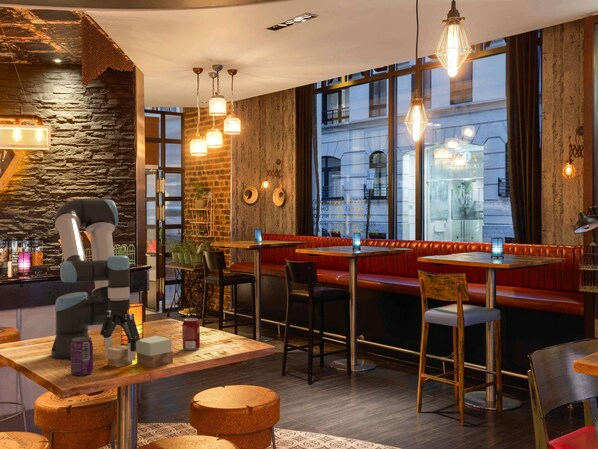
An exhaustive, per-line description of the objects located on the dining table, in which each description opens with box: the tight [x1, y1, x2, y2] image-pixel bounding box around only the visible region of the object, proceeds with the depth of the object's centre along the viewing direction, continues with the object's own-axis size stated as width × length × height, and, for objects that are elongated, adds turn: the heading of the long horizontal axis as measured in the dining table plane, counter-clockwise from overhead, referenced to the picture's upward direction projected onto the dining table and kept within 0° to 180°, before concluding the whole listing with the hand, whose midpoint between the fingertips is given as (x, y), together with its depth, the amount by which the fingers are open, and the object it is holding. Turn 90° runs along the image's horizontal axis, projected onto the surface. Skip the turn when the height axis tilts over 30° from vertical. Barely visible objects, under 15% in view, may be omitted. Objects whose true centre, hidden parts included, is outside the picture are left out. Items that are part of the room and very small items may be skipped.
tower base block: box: [136, 350, 174, 369], centre depth 226 cm, size 9×9×4 cm
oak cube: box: [107, 345, 133, 368], centre depth 224 cm, size 6×6×6 cm
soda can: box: [181, 317, 201, 352], centre depth 247 cm, size 7×7×12 cm
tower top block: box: [135, 335, 172, 356], centre depth 225 cm, size 9×9×4 cm
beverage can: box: [70, 336, 94, 376], centre depth 212 cm, size 7×7×12 cm
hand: (120, 357), depth 224 cm, fingers open, 13 cm apart
